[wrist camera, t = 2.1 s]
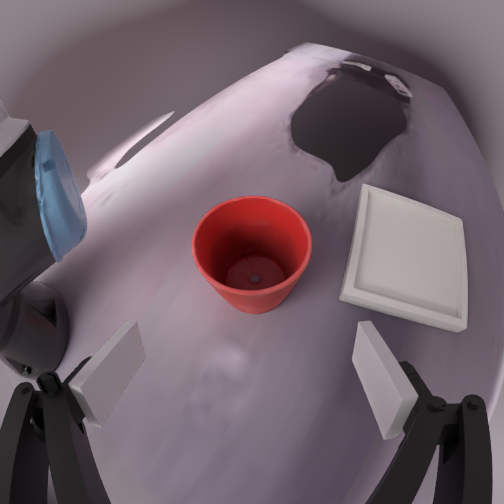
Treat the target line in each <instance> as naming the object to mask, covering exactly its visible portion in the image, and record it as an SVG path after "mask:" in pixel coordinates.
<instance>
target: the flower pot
mask: <svg viewBox="0 0 504 504" xmlns="http://www.w3.org/2000/svg"><path fill="white" fill-rule="evenodd" d="M312 246H313V245H312V236H311V232H310V230H309V227H308V225H307V223H306V222H305V220H304V219H303V218H302V217H301V215H300V214H299V213H298V212H297V211H295V210H294V209H293V208H292V207H290V206H288V205H287V204H285V203H283V202H281V201H278V200H276V199H273V198H269V197H264V196H241V197H237V198H233V199H230V200H227V201H224V202H222V203H220V204H218V205H216V206H215V207H213V208H212V209H210V210H209V211H208V212H207V213H206V214H205V215H204V216H203V217H202V219H201V220H200V221H199V223H198V225H197V227H196V229H195V231H194V234H193V238H192V253H193V258H194V261H195V264H196V266H197V268H198V269H199V271H200V272H201V274H202V275H203V276H204V277H205V279H206V280H207V281H208V282H209V283H210V284H211V285H212V286H213V287H214V289H215V290H216V291H217V292H218V293H219V294H220V295H221V296H222V297H223V298H224V299H225V300H226V301H227V302H229V303H230V304H231V305H232V306H234V307H235V308H236V309H238V310H240V311H242V312H245V313H250V314H261V313H266V312H268V311H271V310H272V309H274V308H276V307H277V306H278V305H279V304H280V303H281V302H282V301H283V300H284V299H285V298H286V296H287V295H288V294H289V293H290V291H291V290H292V289H293V287H294V286H295V284H296V283H297V282H298V280H299V279H300V277H301V276H302V274H303V272H304V271H305V269H306V267H307V265H308V263H309V261H310V258H311V254H312Z"/></svg>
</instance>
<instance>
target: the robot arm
mask: <svg viewBox="0 0 504 504" xmlns="http://www.w3.org/2000/svg"><path fill="white" fill-rule="evenodd" d="M86 231H87V218H86V213H85V209H84V205H83V202H82V198H81V195H80V192H79V189H78V186H77V183H76V180H75V178H74V175H73V172H72V169H71V167H70V164H69V162H68V159H67V157H66V154H65V152H64V150H63V147H62V145H61V143H60V142H59V140H58V139H57V136H56V134H55V133H54V132H53V131H50V130H47V131H41V132H40V133H39V134H38V136H37V135H36V134H35V132H34V130H33V128H32V126H31V124H30V122H29V121H28V120H22V119H14V118H10V117H9V116H8V115H7V113H6V111H5V108H4V107H3V104H2V102H1V100H0V360H1V361H2V362H3V363H4V364H6V365H7V366H8V367H9V368H10V369H12V370H13V371H14V372H15V373H17V374H18V375H20V376H22V377H25V378H29V379H32V380H36V382H37V384H38V386H39V388H40V390H41V391H36V390H35V389H34V387H33V385H32V384H31V383H29V382H24V383H20V384H19V385H18V386H17V387H16V388H15V390H14V393H13V395H12V397H11V400H10V403H9V406H8V408H7V411H6V414H5V417H4V420H3V423H2V426H1V429H0V504H47V488H48V486H47V485H48V469H49V466H50V471H51V477H52V481H53V486H54V490H55V494H56V498H57V502H58V504H111V502H110V500H109V498H108V495H107V493H106V491H105V488H104V486H103V483H102V480H101V478H100V475H99V472H98V469H97V466H96V463H95V460H94V457H93V454H92V451H91V447H90V444H89V440H88V437H87V433H86V429H85V425H84V423H83V421H82V420H83V418H84V417H86V419H87V420H88V422H89V424H92V425H95V426H98V427H102V426H103V424H104V422H105V421H106V419H107V418H108V416H109V414H110V413H111V411H112V410H113V408H114V406H115V405H116V403H117V402H118V400H119V398H120V397H121V395H122V394H123V392H124V390H125V389H126V387H127V386H128V384H129V383H130V381H131V379H132V378H133V376H134V375H135V373H136V372H137V370H138V369H139V367H140V366H141V364H142V362H143V361H144V359H145V358H146V356H145V352H144V348H143V344H142V340H141V336H140V332H139V328H138V324H137V321H132V320H126V321H125V322H124V323H123V324H122V325H121V326H120V327H119V328H118V329H117V331H116V332H115V333H114V334H113V335H112V336H111V337H110V338H109V339H108V340H107V341H106V342H105V343H104V345H103V346H102V347H101V348H100V349H99V350H98V351H97V352H96V353H95V354H94V355H93V357H88V358H86V359H85V360H83V361H82V362H81V363H80V364H79V365H78V367H76V368H75V369H74V371H73V372H72V373H71V374H70V375H69V376H68V377H67V378H66V379H65V380H64V382H63V383H61V381H60V378H59V376H58V374H57V373H56V372H53V371H54V370H55V369H56V368H57V366H58V364H59V363H60V361H61V359H62V356H63V354H64V351H65V348H66V343H67V338H68V315H67V310H66V307H65V304H64V302H63V300H62V298H61V296H60V295H59V294H58V293H57V292H56V291H54V290H53V289H52V288H50V287H49V286H47V285H46V284H44V283H41V282H37V281H33V280H34V279H35V278H36V277H38V276H39V275H40V274H41V273H43V272H44V271H45V270H46V269H48V268H49V267H50V266H51V265H53V264H54V263H55V262H56V261H57V262H60V261H61V260H62V259H63V256H64V255H66V254H67V253H68V252H69V251H70V250H72V249H73V248H74V247H75V246H77V245H78V244H79V243H80V242H81V241H82V240H83V238H84V237H85V234H86ZM352 361H353V364H354V366H355V368H356V371H357V373H358V376H359V378H360V380H361V383H362V385H363V388H364V390H365V393H366V395H367V398H368V400H369V403H370V405H371V408H372V410H373V413H374V415H375V418H376V421H377V423H378V426H379V429H380V431H381V434H382V437H383V439H384V440H387V439H391V438H395V437H399V435H400V433H401V431H402V429H403V430H404V433H405V437H404V438H403V440H402V442H401V444H400V445H399V447H398V450H397V452H396V454H395V456H394V458H393V460H392V462H391V463H390V465H389V467H388V469H387V470H386V472H385V474H384V475H383V477H382V479H381V480H380V482H379V484H378V485H377V487H376V488H375V490H374V491H373V493H372V494H371V496H370V497H369V499H368V500H367V502H366V503H365V504H412V502H413V500H414V498H415V496H416V494H417V492H418V490H419V488H420V486H421V483H422V481H423V479H424V477H425V474H426V472H427V470H428V467H429V465H430V462H431V460H432V457H433V455H434V452H435V449H436V446H437V445H440V449H439V462H438V472H437V480H436V487H435V494H434V499H433V504H492V453H491V442H490V432H489V425H488V418H487V412H486V406H485V402H484V400H483V399H482V398H481V397H479V396H477V395H473V394H471V395H467V396H465V397H464V399H463V400H462V402H461V403H457V404H447V403H446V401H445V400H444V399H442V398H440V397H437V396H433V395H432V394H431V392H430V391H429V389H428V388H427V386H426V385H425V383H424V382H423V380H422V379H421V377H420V376H419V374H417V371H416V370H415V368H414V367H413V366H412V365H411V364H409V363H408V362H406V361H403V362H397V360H396V359H395V357H394V356H393V354H392V352H391V351H390V349H389V348H388V346H387V345H386V343H385V342H384V340H383V339H382V337H381V336H380V334H379V333H378V331H377V330H376V328H375V327H374V325H373V324H372V322H371V321H361V322H358V327H357V334H356V340H355V345H354V351H353V356H352ZM30 422H31V423H30Z"/></svg>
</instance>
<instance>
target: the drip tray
mask: <svg viewBox="0 0 504 504" xmlns="http://www.w3.org/2000/svg"><path fill="white" fill-rule="evenodd" d="M339 300H340V301H343V302H347V303H350V304H354V305H357V306H360V307H364V308H367V309H371V310H374V311H378V312H382V313H385V314H389V315H392V316H396V317H399V318H403V319H407V320H410V321H414V322H418V323H421V324H425V325H429V326H433V327H436V328H440V329H444V330H448V331H452V332H455V333H459V332H461V331H463V330H464V329H466V328H467V315H468V279H467V261H466V249H465V239H464V231H463V223H462V219H460V218H458V217H455V216H453V215H450V214H448V213H446V212H443V211H441V210H438V209H436V208H433V207H430V206H428V205H425V204H422V203H420V202H417V201H414V200H412V199H409V198H406V197H403V196H400V195H397V194H394V193H391V192H388V191H385V190H382V189H379V188H376V187H373V186H370V185H366V184H363V185H362V188H361V191H360V194H359V201H358V207H357V213H356V219H355V225H354V231H353V236H352V241H351V246H350V251H349V256H348V261H347V266H346V270H345V275H344V279H343V283H342V288H341V292H340V296H339Z"/></svg>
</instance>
